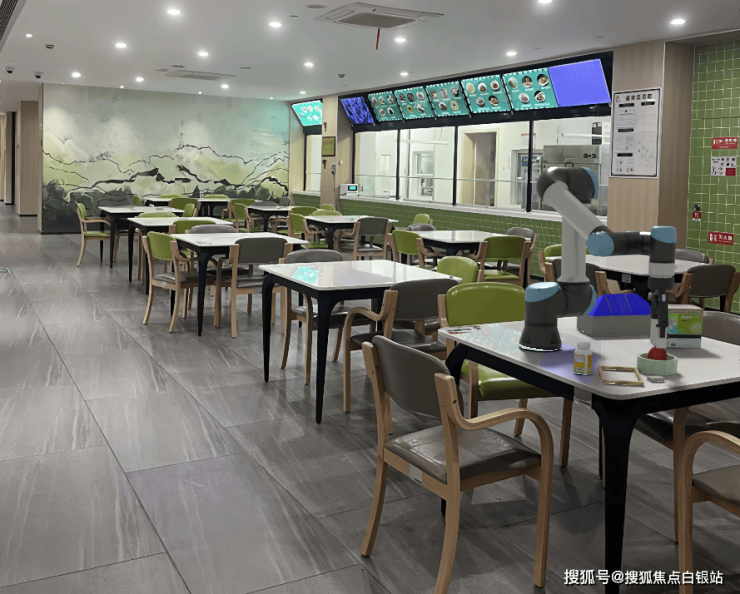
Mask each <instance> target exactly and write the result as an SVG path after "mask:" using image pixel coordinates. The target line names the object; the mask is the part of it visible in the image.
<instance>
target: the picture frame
mask: <svg viewBox="0 0 740 594" xmlns="http://www.w3.org/2000/svg"><path fill="white" fill-rule="evenodd" d="M602 369H616V370H630V371H629V372H635V373H634V375H635V374H636V375H635V377H636V376H637V377H636V379H637V378H638V379H637V380H622V379H621V380H620V379H605V375H604V372H603V370H602ZM598 370H599V371H598ZM616 370H615V371H616ZM597 371H598V374H600V375H599V378H600V377H601V379H600V381H601V380H602V382H601V384H602V383H615V384H626V385H625V386H630V385H640V386H639V387H644V386H645V382H644V380H643V377H642V376H641V374H640V373H641V372H639V371H638V369H637V366H622V365H621V366H619V365H617V366H616V365H597Z"/></svg>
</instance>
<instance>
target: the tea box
mask: <svg viewBox="0 0 740 594" xmlns="http://www.w3.org/2000/svg"><path fill="white" fill-rule="evenodd" d="M703 320H704V308H701V307H699V306H697V305H694V304H670V303H668V323H669V326H667V339H666V348H683V349H687V348H688V349H700V348H702V346H701V345H702V338H703V337H702V335H703V323H704V321H703ZM656 342H657V339H650V338H649V343H651V344H652V345H653V346H656Z"/></svg>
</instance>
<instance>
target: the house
mask: <svg viewBox="0 0 740 594" xmlns="http://www.w3.org/2000/svg"><path fill="white" fill-rule="evenodd" d="M650 313H651V305H650V303H649V302H648V301H647V300H646V299H645V298H643V297H642V296H641V295H639V294H638V293H603V294H602V295H600V296H598V297H596V304H595V306H594V308H593V310H592V311H591V312H590V313H589V314H587V315H582V316H579V317H576V329H577V328H578V329H580V330H582V331H584V332H586V333H588V334H589V336H591V337H604V336H605V337H608V336H609V337H611V336H612V335H615V336H641V335H642V336H645V335H644V334H650V332H651V319H652V318H651V315H650ZM578 329H577V330H578ZM580 330H579V331H580ZM582 331H581V332H582ZM584 332H583V333H584ZM586 333H585V334H586ZM588 334H587V335H588Z"/></svg>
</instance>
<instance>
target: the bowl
mask: <svg viewBox="0 0 740 594" xmlns="http://www.w3.org/2000/svg"><path fill="white" fill-rule="evenodd" d="M678 361H679V360H678V357H677V356H675V355H673V354H670V353H667V360H651V359H648V352H641V353H638V354H637V355H636V367H637V369H638V371H640V372H639V373H642V372H643V374H646V373H648V374H647V375H652V374H656V375H655V376H671V375H673V376H674V375H676V374H677V373H678Z"/></svg>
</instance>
